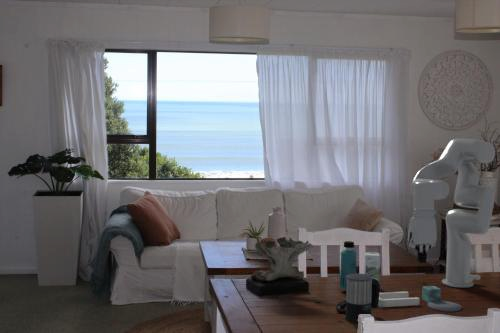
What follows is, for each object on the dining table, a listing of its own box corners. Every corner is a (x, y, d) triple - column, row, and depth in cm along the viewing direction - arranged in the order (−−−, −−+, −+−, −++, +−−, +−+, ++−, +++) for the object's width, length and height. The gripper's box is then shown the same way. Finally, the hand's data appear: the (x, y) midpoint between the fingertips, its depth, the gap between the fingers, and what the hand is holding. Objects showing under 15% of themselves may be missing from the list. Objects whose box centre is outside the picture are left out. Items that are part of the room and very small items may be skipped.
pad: (450, 301, 246) (450, 300, 246) (468, 310, 235) (468, 309, 235) (421, 303, 243) (421, 301, 243) (438, 312, 232) (438, 310, 232)
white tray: (406, 297, 251) (406, 291, 251) (419, 305, 241) (419, 298, 241) (369, 299, 247) (369, 293, 247) (380, 307, 237) (380, 300, 237)
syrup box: (377, 287, 266) (378, 252, 265) (379, 290, 260) (380, 255, 259) (363, 286, 267) (364, 251, 266) (364, 290, 261) (365, 254, 260)
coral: (301, 282, 272) (302, 231, 270) (323, 295, 253) (325, 240, 251) (245, 287, 263) (246, 234, 261) (264, 300, 244) (265, 244, 242)
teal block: (433, 298, 251) (434, 285, 250) (440, 302, 246) (440, 289, 245) (421, 299, 250) (422, 286, 249) (428, 302, 245) (428, 289, 244)
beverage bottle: (336, 292, 257) (338, 242, 256) (342, 288, 263) (343, 239, 262) (352, 294, 254) (354, 243, 253) (358, 290, 260) (359, 241, 259)
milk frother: (364, 325, 217) (365, 281, 216) (322, 316, 226) (323, 274, 225) (382, 315, 228) (383, 273, 227) (342, 306, 237) (343, 266, 236)
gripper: (435, 212, 250) (433, 259, 251) (400, 213, 246) (399, 261, 247) (446, 215, 243) (444, 263, 244) (411, 216, 238) (409, 265, 240)
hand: (421, 262), depth 246 cm, fingers closed
